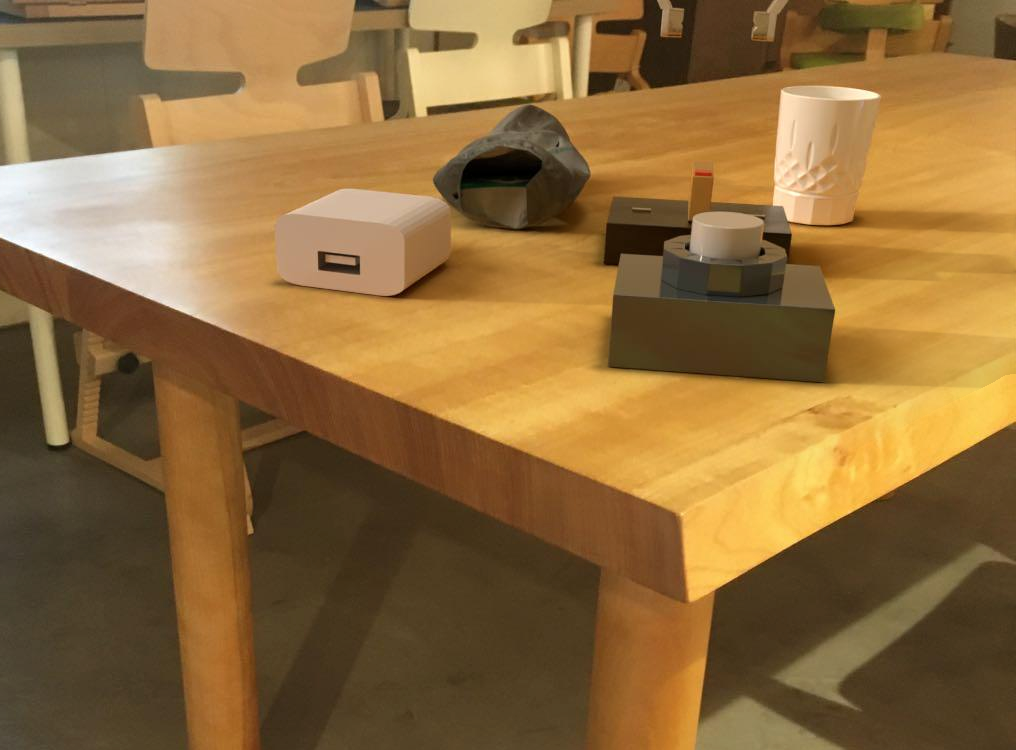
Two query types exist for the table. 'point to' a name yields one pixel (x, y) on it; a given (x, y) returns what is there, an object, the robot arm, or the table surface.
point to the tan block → (700, 188)
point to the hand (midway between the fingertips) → (716, 38)
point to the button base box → (721, 314)
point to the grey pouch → (515, 172)
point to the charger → (363, 241)
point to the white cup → (822, 151)
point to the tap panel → (675, 225)
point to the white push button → (726, 235)
